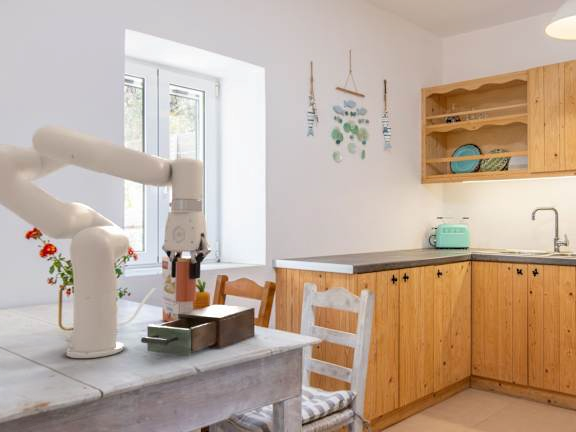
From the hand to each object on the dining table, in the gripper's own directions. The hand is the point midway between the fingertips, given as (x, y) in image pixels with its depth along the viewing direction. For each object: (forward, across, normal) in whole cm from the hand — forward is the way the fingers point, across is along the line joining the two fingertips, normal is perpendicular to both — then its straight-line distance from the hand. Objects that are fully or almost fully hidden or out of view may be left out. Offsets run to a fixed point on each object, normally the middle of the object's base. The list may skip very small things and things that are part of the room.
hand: (185, 277), depth 135 cm
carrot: (+19, -12, +21) cm, 31 cm away
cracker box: (+19, -26, +26) cm, 41 cm away
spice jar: (+6, 0, 0) cm, 6 cm away
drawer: (+18, +1, -2) cm, 18 cm away
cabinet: (+19, 0, +12) cm, 22 cm away
